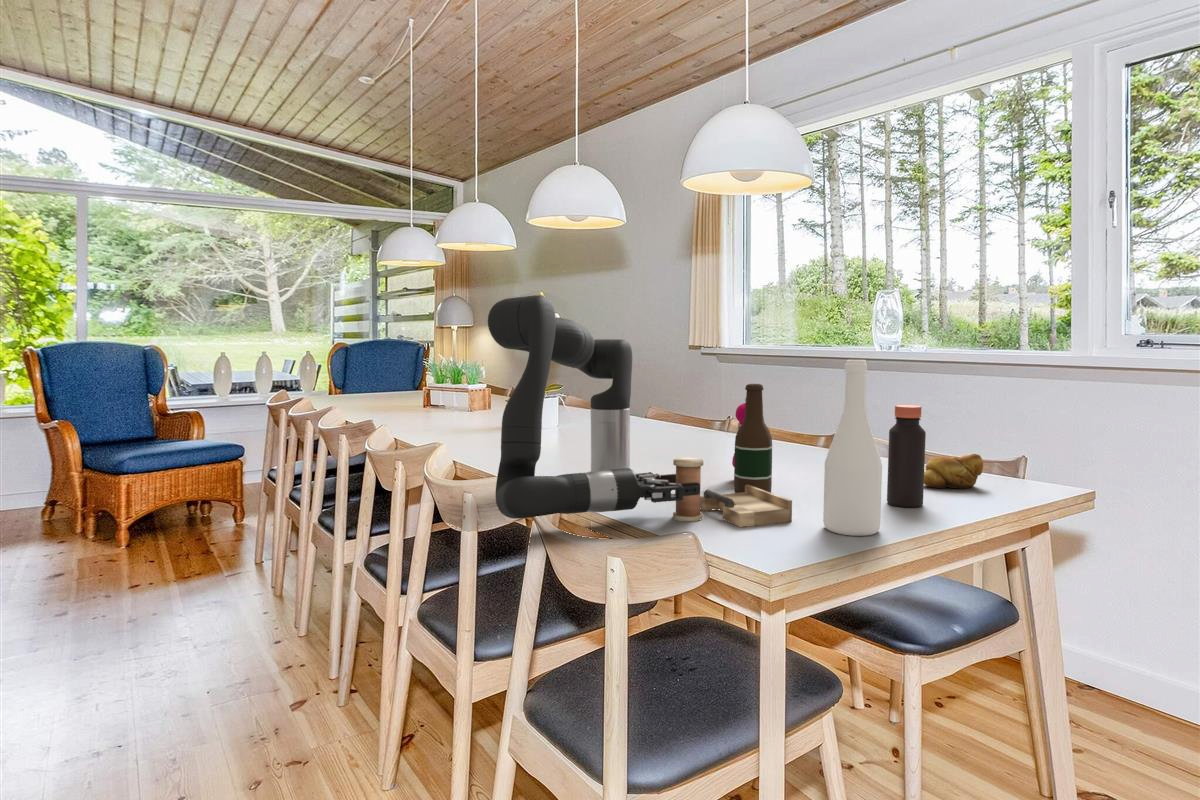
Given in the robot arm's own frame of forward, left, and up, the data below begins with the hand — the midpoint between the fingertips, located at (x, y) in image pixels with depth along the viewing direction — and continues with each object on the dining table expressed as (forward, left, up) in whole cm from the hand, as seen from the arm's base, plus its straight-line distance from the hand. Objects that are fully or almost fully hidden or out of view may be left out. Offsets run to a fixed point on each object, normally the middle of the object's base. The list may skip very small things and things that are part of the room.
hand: (688, 483), depth 138 cm
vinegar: (+6, +46, -7) cm, 47 cm away
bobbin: (0, 0, -7) cm, 7 cm away
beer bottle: (-11, +21, -7) cm, 25 cm away
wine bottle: (+18, +23, -7) cm, 30 cm away
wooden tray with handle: (+2, +11, -7) cm, 13 cm away
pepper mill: (-26, +29, -7) cm, 39 cm away
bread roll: (-5, +68, -7) cm, 69 cm away
